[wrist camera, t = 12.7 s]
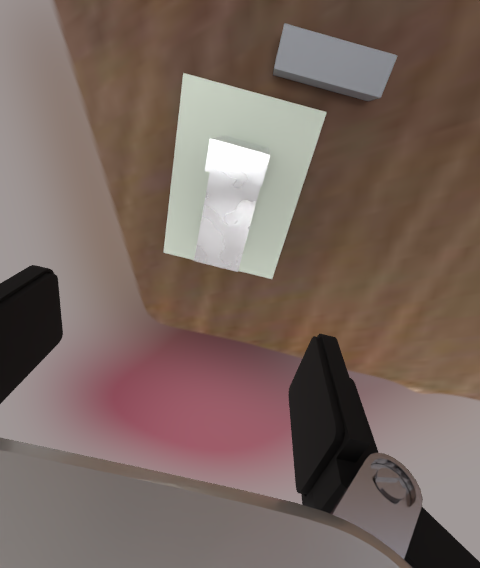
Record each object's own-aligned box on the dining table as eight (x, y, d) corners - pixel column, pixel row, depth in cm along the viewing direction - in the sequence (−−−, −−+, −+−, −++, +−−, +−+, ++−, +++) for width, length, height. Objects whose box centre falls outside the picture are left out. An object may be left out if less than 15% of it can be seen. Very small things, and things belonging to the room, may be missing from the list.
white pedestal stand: (268, 147, 25) (270, 155, 19) (241, 250, 30) (235, 285, 23) (224, 135, 25) (210, 138, 18) (204, 241, 30) (187, 273, 23)
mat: (325, 112, 24) (326, 112, 24) (271, 277, 32) (272, 279, 31) (184, 74, 24) (183, 73, 23) (164, 250, 31) (163, 252, 31)
